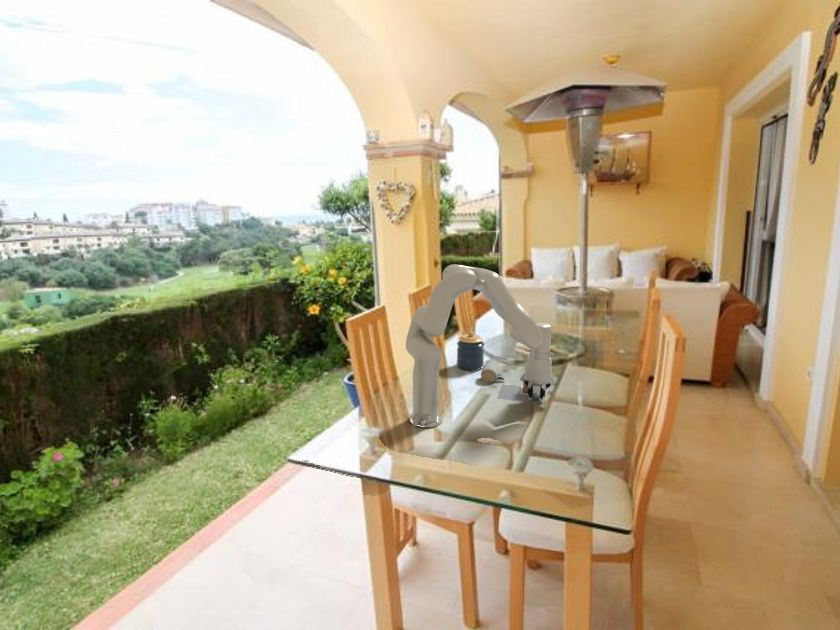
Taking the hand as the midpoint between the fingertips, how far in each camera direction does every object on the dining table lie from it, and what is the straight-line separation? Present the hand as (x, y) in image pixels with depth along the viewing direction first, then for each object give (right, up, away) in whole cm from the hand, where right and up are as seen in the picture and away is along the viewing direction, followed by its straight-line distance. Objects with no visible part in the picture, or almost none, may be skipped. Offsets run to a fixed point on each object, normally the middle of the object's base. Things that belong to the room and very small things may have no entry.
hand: (536, 396), depth 195 cm
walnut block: (+1, +1, +10) cm, 10 cm away
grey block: (0, 0, 0) cm, 0 cm away
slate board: (-4, 0, +8) cm, 9 cm away
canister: (-22, +8, +40) cm, 46 cm away
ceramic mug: (-14, +3, +22) cm, 27 cm away
